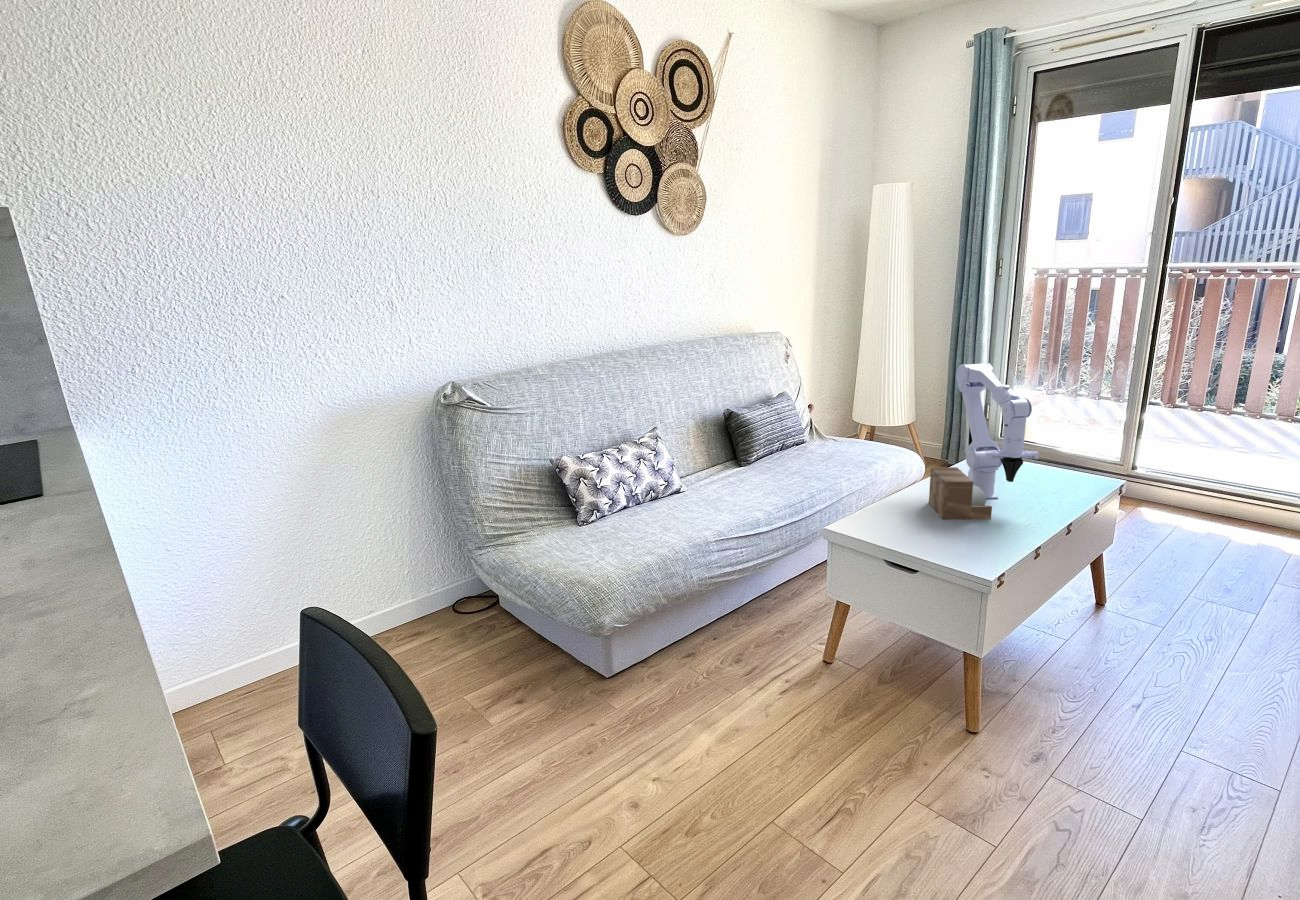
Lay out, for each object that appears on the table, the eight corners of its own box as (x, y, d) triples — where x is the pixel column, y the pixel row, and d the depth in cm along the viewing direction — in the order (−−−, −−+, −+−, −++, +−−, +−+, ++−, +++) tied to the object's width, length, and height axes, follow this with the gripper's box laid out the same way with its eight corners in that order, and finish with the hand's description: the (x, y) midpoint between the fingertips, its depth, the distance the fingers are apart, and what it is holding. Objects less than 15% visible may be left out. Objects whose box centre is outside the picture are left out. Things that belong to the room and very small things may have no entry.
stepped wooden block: (928, 503, 227) (930, 467, 224) (973, 502, 225) (976, 467, 222) (942, 519, 212) (945, 481, 209) (990, 519, 211) (994, 481, 208)
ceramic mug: (947, 510, 219) (949, 487, 217) (964, 505, 223) (966, 482, 221) (977, 521, 211) (980, 497, 208) (994, 515, 214) (997, 491, 212)
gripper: (993, 441, 209) (989, 485, 213) (1044, 441, 207) (1039, 484, 211) (985, 436, 216) (981, 478, 219) (1034, 435, 214) (1030, 477, 218)
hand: (1009, 480), depth 216 cm, fingers closed
